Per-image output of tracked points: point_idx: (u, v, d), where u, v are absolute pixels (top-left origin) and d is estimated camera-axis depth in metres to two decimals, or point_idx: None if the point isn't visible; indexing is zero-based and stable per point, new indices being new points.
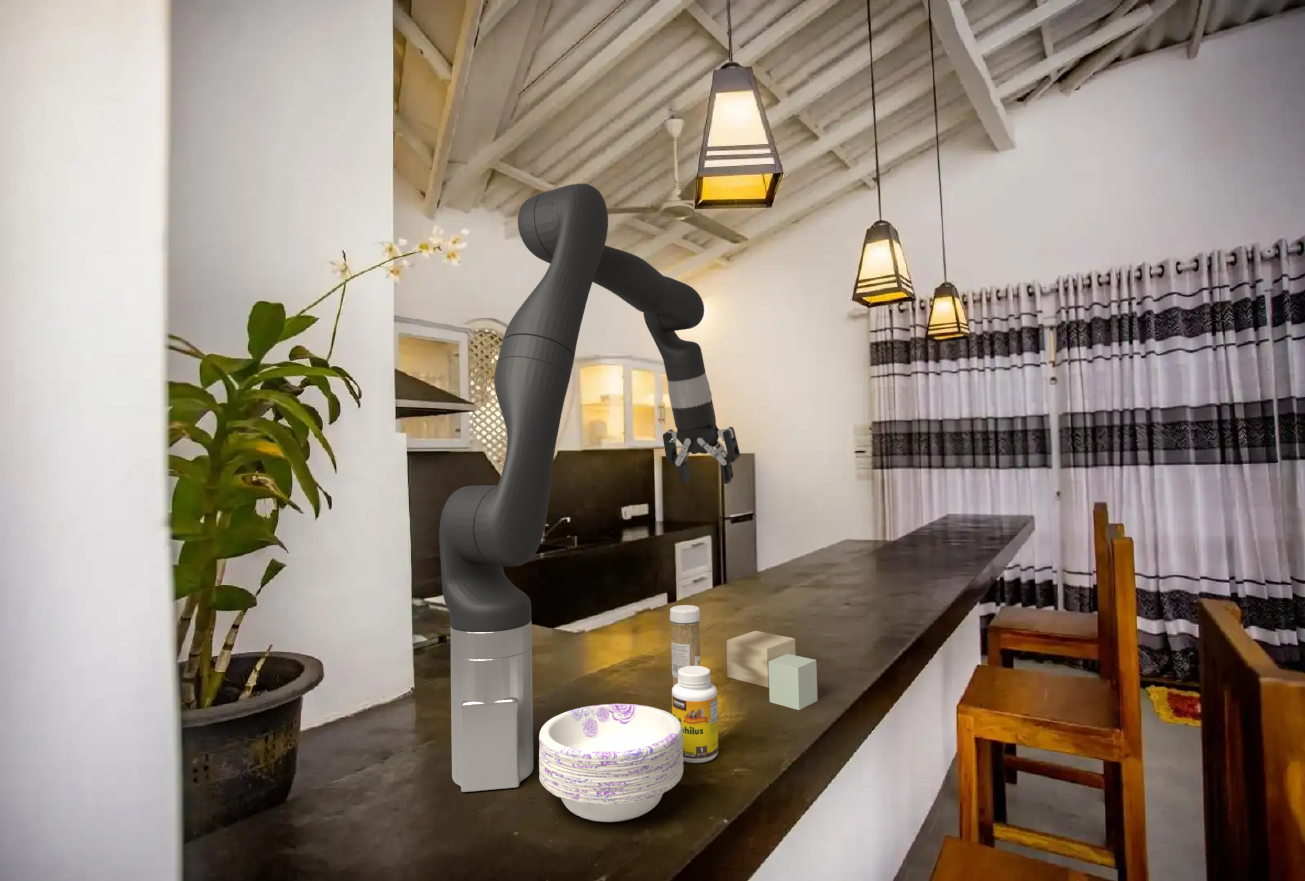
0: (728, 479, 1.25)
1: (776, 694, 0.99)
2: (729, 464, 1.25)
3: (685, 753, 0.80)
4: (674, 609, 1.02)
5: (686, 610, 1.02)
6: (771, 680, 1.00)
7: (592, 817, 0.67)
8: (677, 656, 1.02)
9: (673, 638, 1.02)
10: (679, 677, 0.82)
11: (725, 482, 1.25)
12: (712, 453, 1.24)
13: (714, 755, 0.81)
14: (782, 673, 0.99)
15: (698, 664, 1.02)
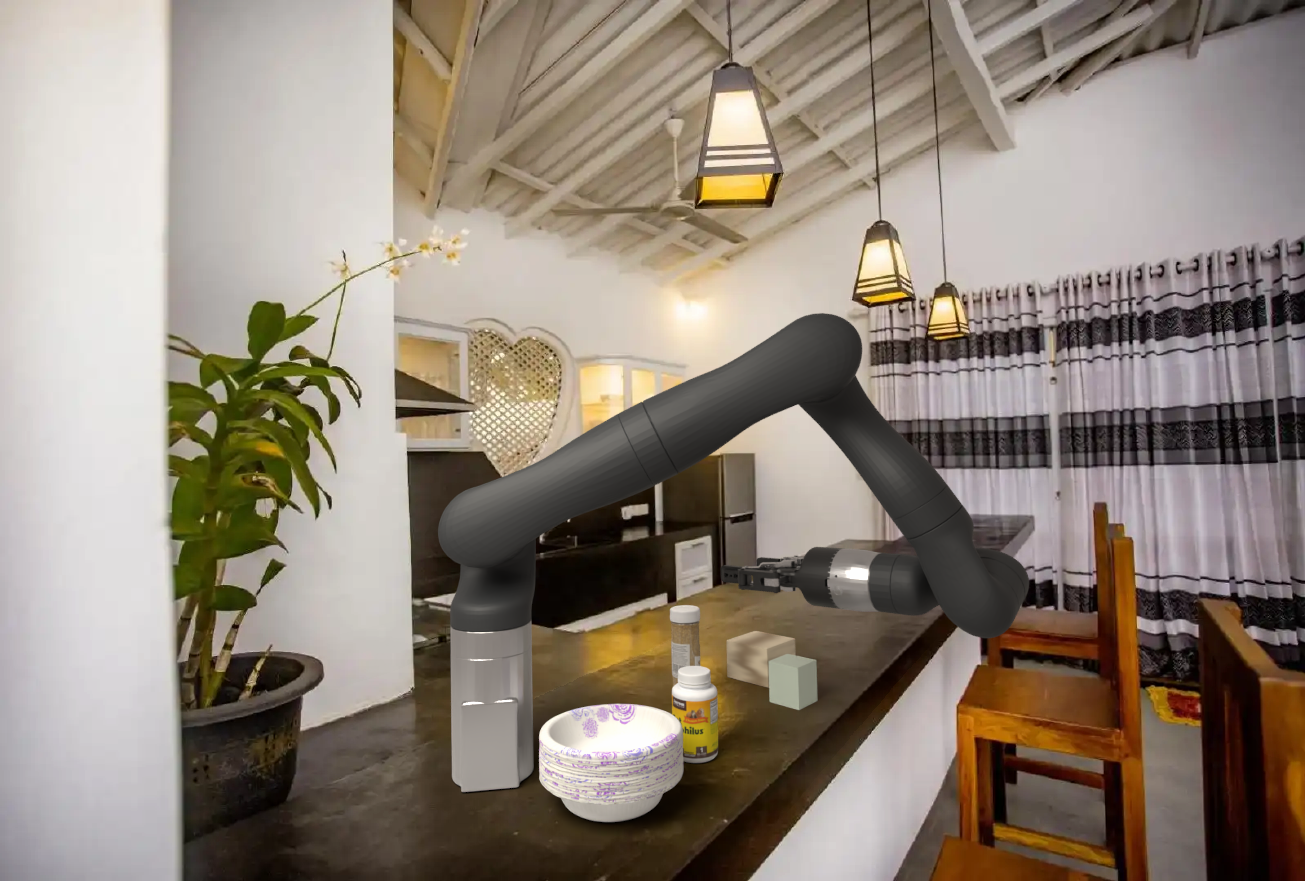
0: (724, 569, 0.92)
1: (776, 694, 0.99)
2: None
3: (685, 753, 0.80)
4: (674, 609, 1.02)
5: (686, 610, 1.02)
6: (771, 680, 1.00)
7: (592, 817, 0.67)
8: (677, 656, 1.02)
9: (673, 638, 1.02)
10: (679, 677, 0.82)
11: (724, 565, 0.93)
12: (765, 562, 0.90)
13: (714, 755, 0.81)
14: (782, 673, 0.99)
15: (698, 664, 1.02)
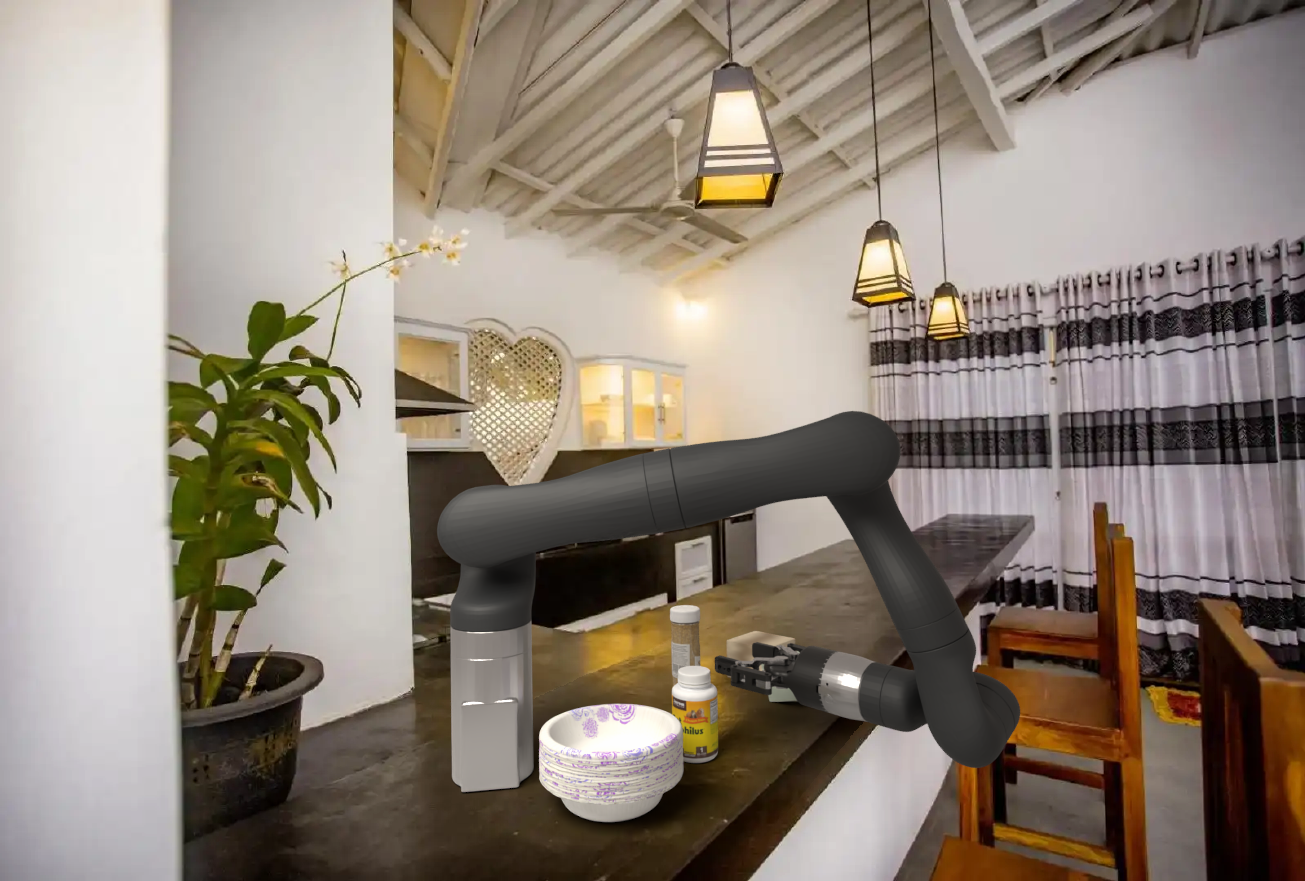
0: (718, 660, 0.93)
1: (774, 691, 1.00)
2: None
3: (685, 753, 0.80)
4: (674, 609, 1.02)
5: (686, 610, 1.02)
6: None
7: (592, 817, 0.67)
8: (677, 656, 1.02)
9: (673, 638, 1.02)
10: (679, 677, 0.82)
11: (718, 656, 0.93)
12: (758, 658, 0.90)
13: (714, 755, 0.81)
14: None
15: (698, 664, 1.02)
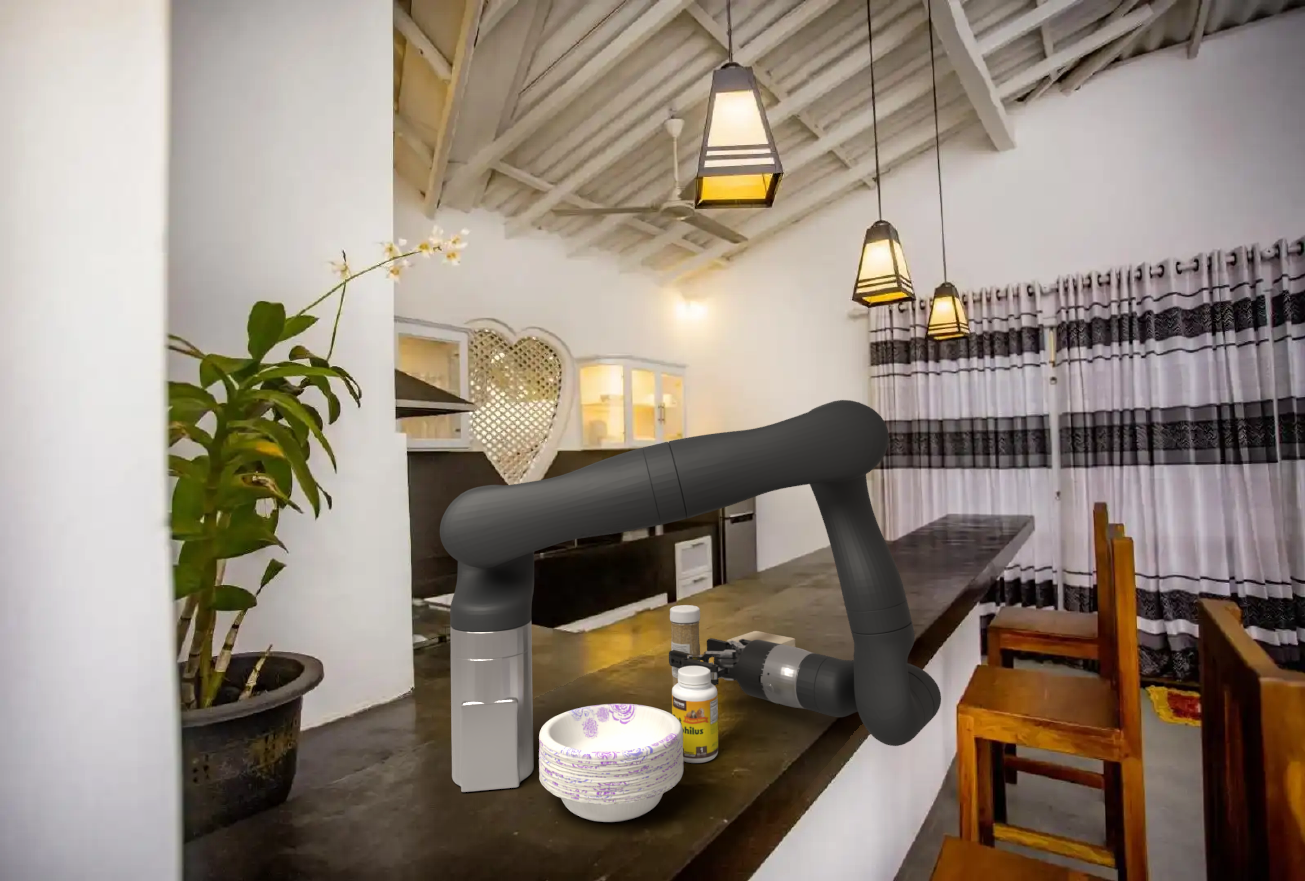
0: (672, 654, 0.99)
1: None
2: None
3: (685, 753, 0.80)
4: (674, 609, 1.02)
5: (686, 610, 1.02)
6: None
7: (592, 817, 0.67)
8: None
9: (673, 638, 1.02)
10: (679, 677, 0.82)
11: (672, 650, 0.99)
12: (708, 652, 0.96)
13: (714, 755, 0.81)
14: None
15: None
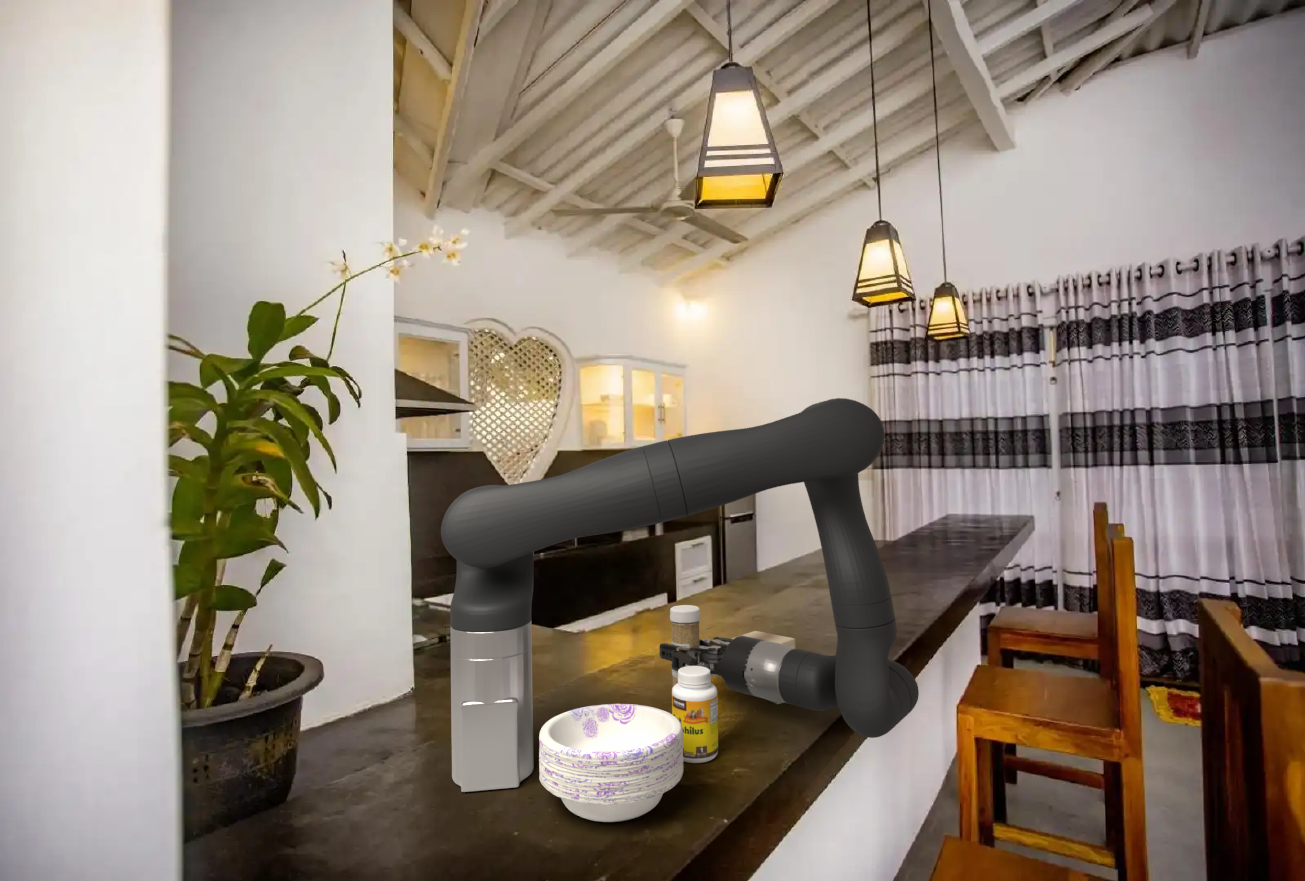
0: (662, 647, 1.02)
1: None
2: None
3: (685, 753, 0.80)
4: (674, 609, 1.02)
5: (686, 610, 1.02)
6: None
7: (592, 817, 0.67)
8: None
9: (673, 638, 1.02)
10: (679, 677, 0.82)
11: (662, 643, 1.03)
12: (696, 646, 0.99)
13: (714, 755, 0.81)
14: None
15: None
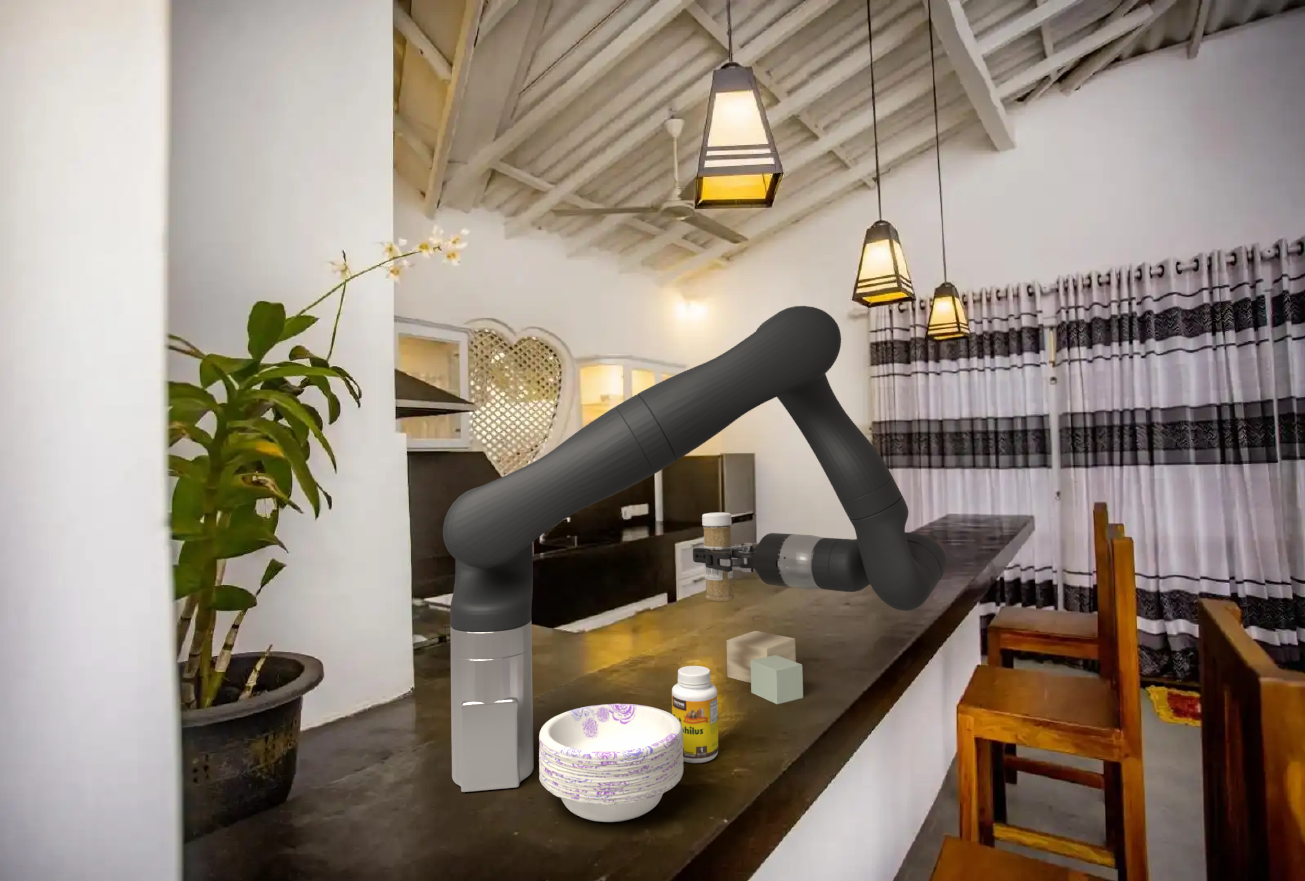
0: (695, 551, 1.06)
1: (770, 693, 1.01)
2: None
3: (685, 753, 0.80)
4: (706, 514, 1.06)
5: (718, 514, 1.05)
6: (762, 695, 1.02)
7: (592, 817, 0.67)
8: None
9: (706, 542, 1.06)
10: (679, 677, 0.82)
11: (695, 548, 1.07)
12: (729, 546, 1.03)
13: (714, 755, 0.81)
14: (756, 679, 1.03)
15: None
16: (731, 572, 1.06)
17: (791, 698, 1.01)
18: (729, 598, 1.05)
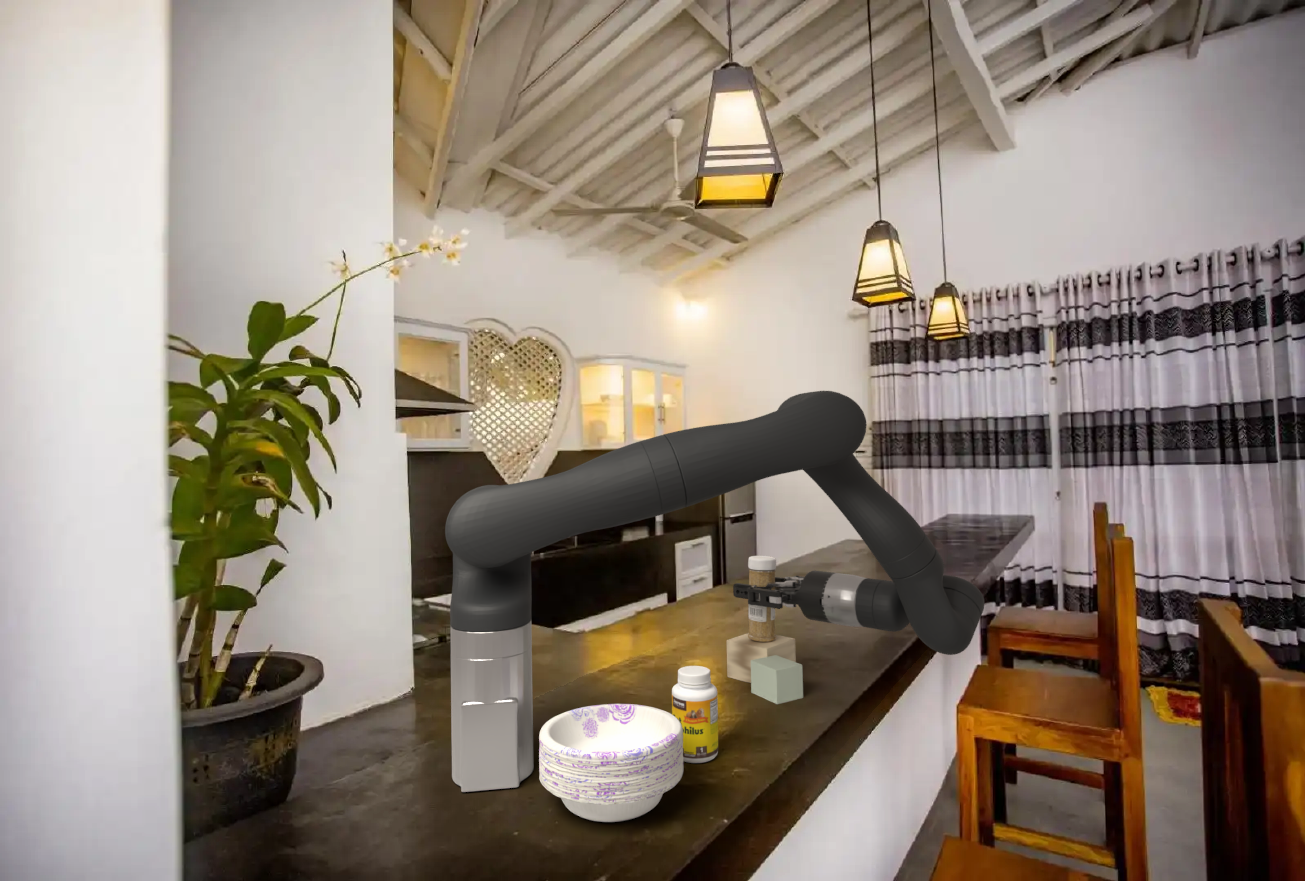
0: (736, 586, 1.10)
1: (770, 693, 1.01)
2: None
3: (685, 753, 0.80)
4: (753, 558, 1.12)
5: (765, 558, 1.11)
6: (762, 695, 1.02)
7: (592, 817, 0.67)
8: None
9: (751, 584, 1.11)
10: (679, 677, 0.82)
11: (736, 583, 1.11)
12: (770, 582, 1.07)
13: (714, 755, 0.81)
14: (756, 679, 1.03)
15: (773, 609, 1.11)
16: (774, 614, 1.11)
17: (791, 698, 1.01)
18: (771, 639, 1.10)
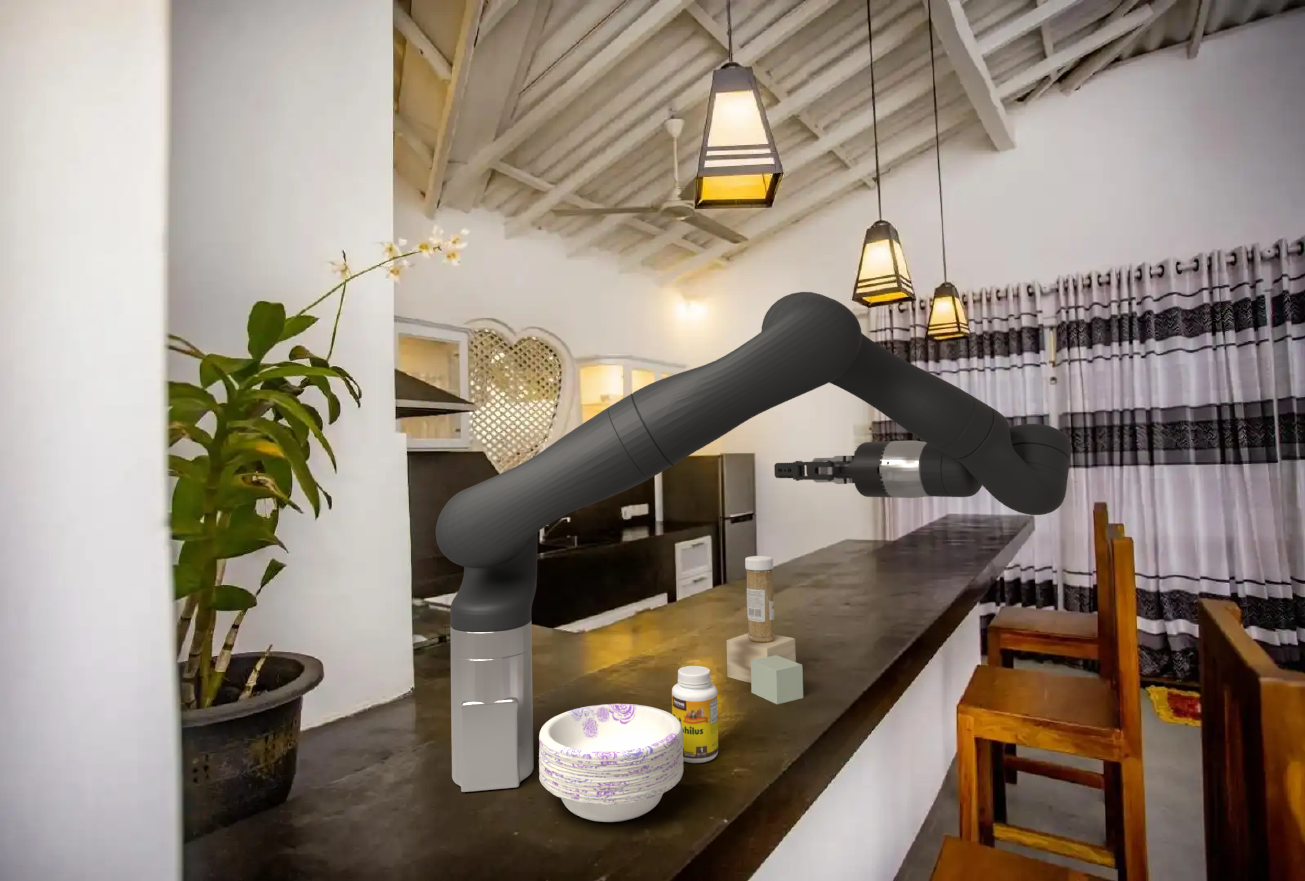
0: (778, 465, 0.98)
1: (770, 693, 1.00)
2: (793, 469, 0.96)
3: (685, 753, 0.80)
4: (749, 558, 1.12)
5: (761, 558, 1.11)
6: (762, 695, 1.02)
7: (592, 817, 0.67)
8: (752, 601, 1.11)
9: (749, 585, 1.12)
10: (679, 677, 0.82)
11: (777, 463, 0.99)
12: None
13: (714, 755, 0.81)
14: (756, 679, 1.03)
15: (772, 608, 1.11)
16: (773, 614, 1.11)
17: (791, 698, 1.01)
18: (771, 639, 1.10)
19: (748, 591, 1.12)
